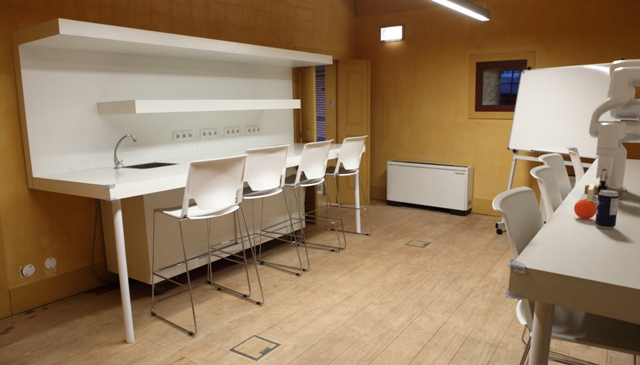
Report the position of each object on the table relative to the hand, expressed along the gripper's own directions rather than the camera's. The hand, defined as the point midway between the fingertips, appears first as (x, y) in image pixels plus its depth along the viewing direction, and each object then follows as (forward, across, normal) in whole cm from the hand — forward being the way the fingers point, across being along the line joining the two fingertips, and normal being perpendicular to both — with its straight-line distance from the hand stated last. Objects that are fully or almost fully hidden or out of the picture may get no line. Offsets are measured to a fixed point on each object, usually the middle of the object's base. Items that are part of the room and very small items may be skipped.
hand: (602, 193), depth 199 cm
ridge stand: (+1, +13, -4) cm, 14 cm away
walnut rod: (+1, 0, 0) cm, 1 cm away
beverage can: (0, +57, +3) cm, 58 cm away
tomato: (0, +48, -3) cm, 48 cm away
